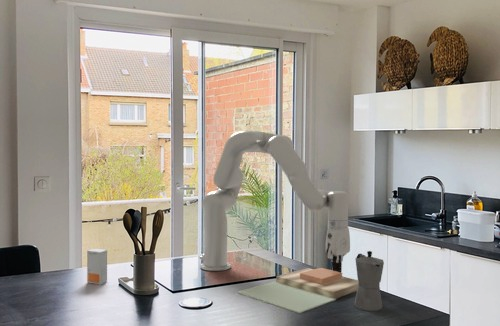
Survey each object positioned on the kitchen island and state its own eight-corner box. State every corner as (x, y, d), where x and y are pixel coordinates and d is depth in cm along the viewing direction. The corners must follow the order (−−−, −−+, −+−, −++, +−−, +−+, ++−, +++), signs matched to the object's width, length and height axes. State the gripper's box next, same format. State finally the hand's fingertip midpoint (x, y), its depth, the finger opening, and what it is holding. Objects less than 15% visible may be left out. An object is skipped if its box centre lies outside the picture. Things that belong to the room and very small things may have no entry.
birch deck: (276, 282, 193) (276, 276, 193) (307, 274, 206) (307, 267, 206) (333, 299, 175) (333, 291, 175) (363, 288, 187) (363, 281, 187)
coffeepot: (391, 312, 163) (393, 255, 162) (363, 314, 160) (365, 256, 159) (369, 297, 178) (370, 244, 177) (343, 298, 175) (344, 245, 174)
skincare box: (86, 282, 191) (86, 250, 190) (94, 279, 194) (94, 248, 194) (100, 284, 188) (100, 252, 188) (107, 281, 192) (107, 249, 192)
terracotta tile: (299, 278, 190) (300, 273, 190) (320, 272, 199) (320, 267, 198) (321, 284, 183) (322, 278, 183) (342, 278, 192) (342, 272, 191)
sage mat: (237, 292, 181) (237, 291, 181) (274, 282, 194) (274, 281, 194) (299, 313, 161) (299, 312, 161) (336, 300, 174) (336, 298, 174)
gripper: (334, 227, 189) (333, 277, 190) (357, 223, 199) (356, 270, 200) (317, 225, 194) (316, 273, 195) (341, 220, 204) (340, 266, 206)
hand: (336, 271), depth 198 cm, fingers closed
